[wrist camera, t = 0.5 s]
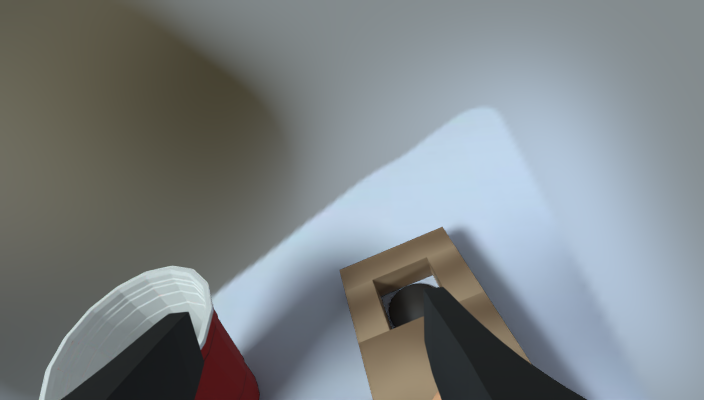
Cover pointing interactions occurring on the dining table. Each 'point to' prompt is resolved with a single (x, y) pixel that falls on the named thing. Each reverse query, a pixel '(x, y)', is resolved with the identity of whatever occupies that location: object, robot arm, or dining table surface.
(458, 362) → the robot arm
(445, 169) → the dining table surface
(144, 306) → the plastic cup
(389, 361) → the deck
